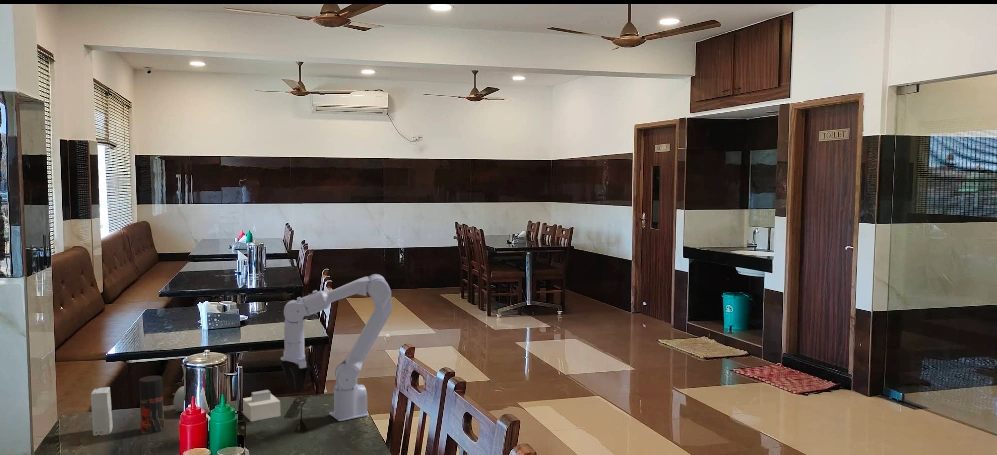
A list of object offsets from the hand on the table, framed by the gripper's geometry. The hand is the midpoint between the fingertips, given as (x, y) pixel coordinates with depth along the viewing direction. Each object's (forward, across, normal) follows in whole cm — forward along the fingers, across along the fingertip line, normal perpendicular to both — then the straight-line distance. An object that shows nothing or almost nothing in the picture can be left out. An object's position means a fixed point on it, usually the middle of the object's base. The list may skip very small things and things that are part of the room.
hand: (295, 386), depth 220 cm
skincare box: (+11, -20, -49) cm, 54 cm away
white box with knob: (+10, -10, -7) cm, 16 cm away
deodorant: (+10, -14, -37) cm, 41 cm away
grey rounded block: (+11, -25, -23) cm, 36 cm away
